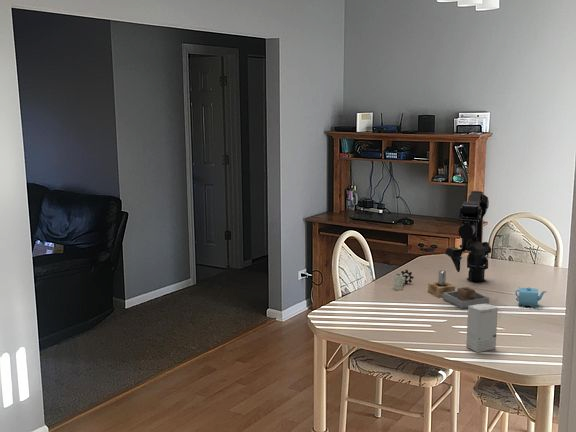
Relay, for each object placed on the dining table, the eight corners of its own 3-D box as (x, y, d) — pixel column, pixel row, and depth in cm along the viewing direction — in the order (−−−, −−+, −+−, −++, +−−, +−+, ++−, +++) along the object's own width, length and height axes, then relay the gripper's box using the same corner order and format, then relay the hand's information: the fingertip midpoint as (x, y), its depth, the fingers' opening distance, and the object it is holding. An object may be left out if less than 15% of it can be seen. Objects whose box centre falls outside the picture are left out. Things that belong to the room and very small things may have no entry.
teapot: (545, 304, 259) (547, 287, 258) (546, 309, 254) (547, 291, 252) (514, 301, 263) (515, 284, 262) (514, 306, 258) (515, 288, 256)
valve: (403, 291, 279) (413, 284, 288) (403, 277, 277) (413, 270, 287) (389, 289, 282) (399, 282, 292) (389, 274, 281) (400, 268, 291)
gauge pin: (442, 292, 277) (443, 270, 275) (446, 294, 274) (447, 271, 272) (436, 293, 275) (437, 270, 274) (440, 295, 273) (441, 272, 271)
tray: (468, 295, 271) (469, 289, 271) (488, 305, 260) (489, 297, 259) (442, 299, 267) (443, 292, 266) (462, 309, 255) (462, 302, 254)
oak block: (443, 290, 280) (444, 281, 279) (454, 295, 272) (455, 286, 272) (428, 292, 277) (428, 283, 276) (438, 297, 270) (439, 288, 269)
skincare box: (477, 353, 212) (479, 310, 209) (465, 346, 218) (467, 305, 215) (496, 348, 215) (499, 307, 213) (484, 342, 221) (486, 301, 218)
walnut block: (467, 298, 266) (467, 286, 265) (474, 301, 262) (475, 290, 261) (457, 299, 264) (457, 288, 263) (464, 303, 260) (465, 291, 259)
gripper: (462, 239, 249) (460, 278, 252) (501, 235, 256) (499, 273, 258) (445, 234, 259) (444, 271, 262) (483, 230, 266) (481, 266, 269)
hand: (467, 270), depth 263 cm, fingers open, 9 cm apart
